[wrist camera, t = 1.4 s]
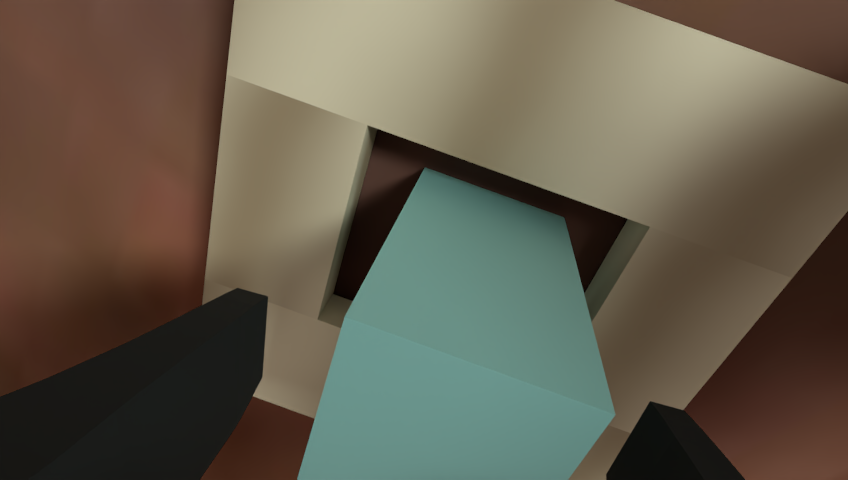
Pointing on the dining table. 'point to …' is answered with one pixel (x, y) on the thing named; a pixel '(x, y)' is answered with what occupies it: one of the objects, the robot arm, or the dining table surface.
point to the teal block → (463, 350)
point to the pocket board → (528, 168)
